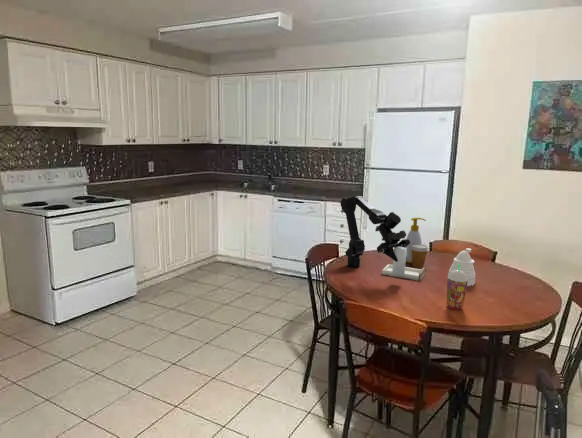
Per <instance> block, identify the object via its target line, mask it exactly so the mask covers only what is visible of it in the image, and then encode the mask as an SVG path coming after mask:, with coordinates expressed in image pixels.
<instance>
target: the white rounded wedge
mask: <svg viewBox="0 0 582 438" xmlns="http://www.w3.org/2000/svg"><path fill="white" fill-rule="evenodd" d="M393 251H394V253H395V255H396V257H397V260H398V261H397V262H396V261H394V260H393V259H392V260H393V261H392V265H393V270H392V273H393V274H395V275H404V274H405V267H406V263H407V262H406V252H407V248H404V247H394V248H393Z"/></svg>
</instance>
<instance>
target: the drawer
mask: <svg viewBox="0 0 582 438" xmlns="http://www.w3.org/2000/svg"><path fill="white" fill-rule="evenodd" d="M392 270H393V264H389V263H388V264H387V265H386V266H384V268H383V269H382V270H381V271H382V273H381V275H383V276H389V277H390V276H391V277H395V278H402V279H407V280H412V281H413V280H414V281H418V282H419V281H422V279H423V277H424V276H425V273H426V267H422V268H416V267H408V266H405V274H404V275H395V274H393V273H392Z"/></svg>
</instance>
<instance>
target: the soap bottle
mask: <svg viewBox="0 0 582 438" xmlns="http://www.w3.org/2000/svg"><path fill="white" fill-rule="evenodd" d="M410 220H411V221H413V224H411V225H410V226H411V227H410V231H408V234H407V235H406V239H409V241H410V244H409V245H408V246H407V247H406V248H407V252H406V256H407V259H406V263H409V264H412V249H411V247H412V245H413V244H422V237H421V233H420V231H419V229H420V226H419V225H418V220H422V221H424V222H426V219H424V218H422V217H412V218H411V219H410Z"/></svg>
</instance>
